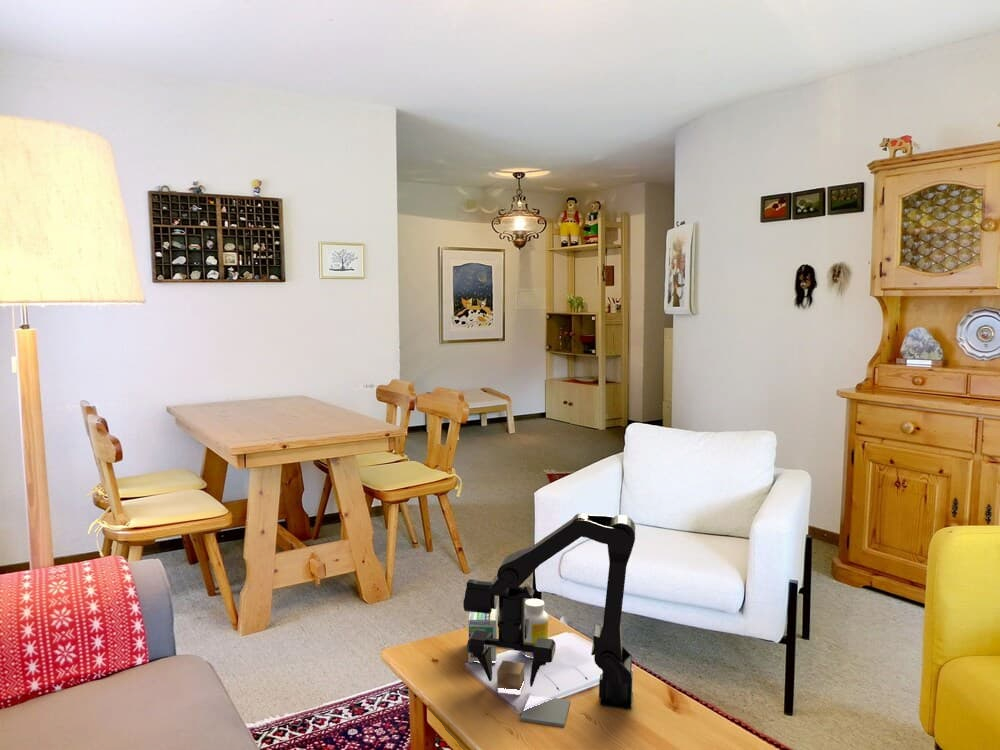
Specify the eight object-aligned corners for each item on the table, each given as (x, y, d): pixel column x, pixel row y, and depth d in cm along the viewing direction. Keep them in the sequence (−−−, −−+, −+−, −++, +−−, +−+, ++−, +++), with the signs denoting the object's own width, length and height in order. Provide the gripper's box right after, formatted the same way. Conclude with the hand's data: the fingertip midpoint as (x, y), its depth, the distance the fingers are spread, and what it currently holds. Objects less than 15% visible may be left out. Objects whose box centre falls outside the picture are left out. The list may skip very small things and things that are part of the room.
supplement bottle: (552, 651, 174) (553, 600, 173) (539, 662, 169) (540, 610, 167) (528, 644, 178) (529, 594, 177) (515, 655, 172) (515, 603, 171)
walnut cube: (524, 684, 159) (524, 663, 159) (519, 696, 154) (519, 674, 154) (502, 681, 160) (502, 660, 160) (497, 693, 155) (497, 671, 155)
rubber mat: (570, 702, 152) (570, 700, 152) (564, 726, 143) (564, 724, 143) (528, 697, 154) (528, 694, 154) (520, 720, 145) (520, 717, 145)
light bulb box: (496, 664, 168) (496, 620, 167) (467, 664, 168) (467, 619, 167) (497, 643, 178) (497, 601, 177) (470, 642, 179) (470, 601, 177)
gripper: (559, 604, 161) (558, 670, 163) (479, 595, 166) (479, 660, 167) (552, 625, 151) (550, 696, 152) (466, 615, 155) (466, 684, 156)
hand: (510, 683), depth 157 cm, fingers open, 9 cm apart
